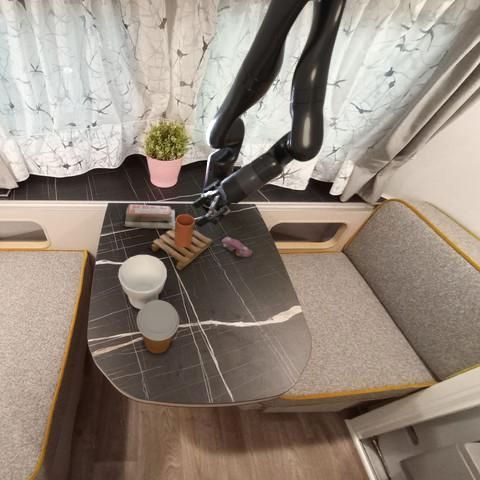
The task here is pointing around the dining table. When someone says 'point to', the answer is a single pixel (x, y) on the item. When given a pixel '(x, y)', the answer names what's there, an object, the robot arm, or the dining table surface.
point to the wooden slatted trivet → (188, 255)
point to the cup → (142, 279)
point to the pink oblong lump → (236, 247)
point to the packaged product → (150, 216)
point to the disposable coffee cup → (157, 324)
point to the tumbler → (184, 230)
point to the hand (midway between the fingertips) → (195, 215)
